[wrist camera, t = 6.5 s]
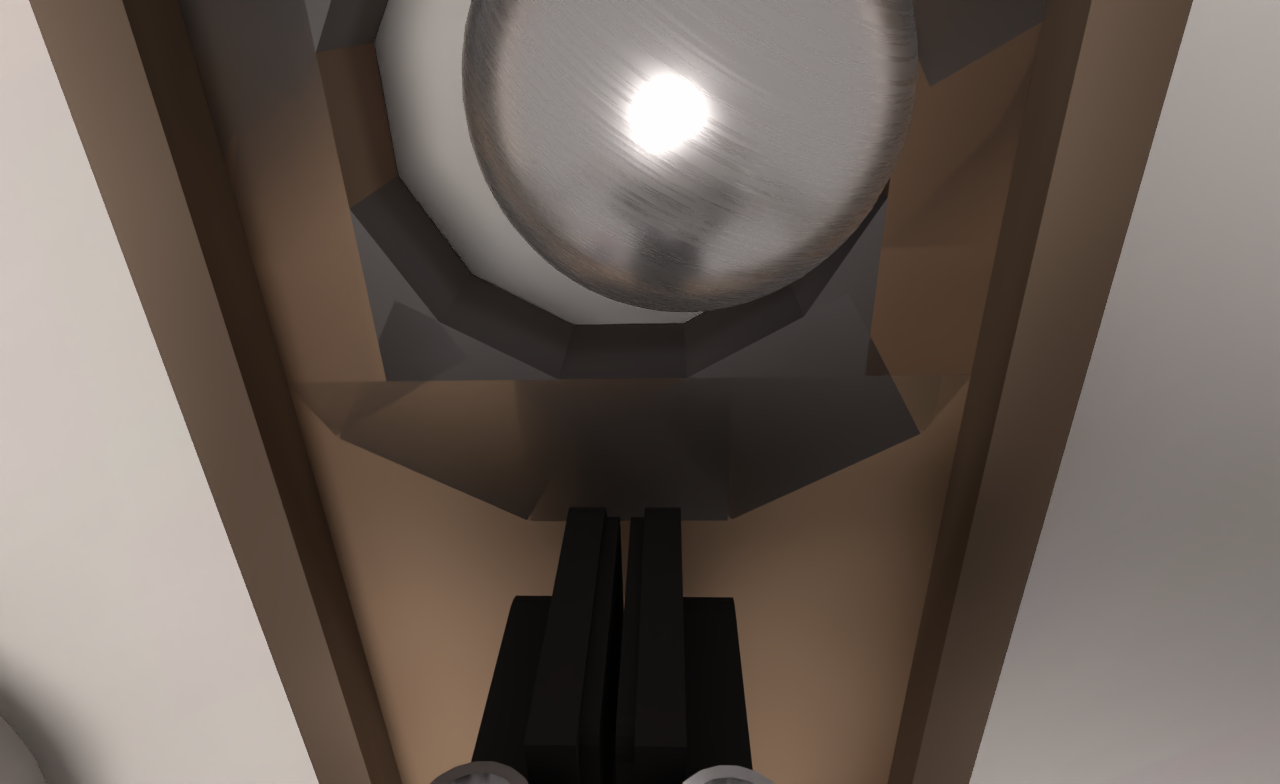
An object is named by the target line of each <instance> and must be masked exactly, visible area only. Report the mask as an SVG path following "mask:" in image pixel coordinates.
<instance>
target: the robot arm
mask: <svg viewBox="0 0 1280 784" xmlns="http://www.w3.org/2000/svg"><path fill="white" fill-rule="evenodd" d="M430 784H775V783H774V782H773V781H771V780H770V779H768V778H766V777H765V776H763V775H762V774H760V773H759V772H757V771H754V770H753V767H752V758H751V749H750V740H749V730H748V721H747V712H746V703H745V694H744V685H743V675H742V666H741V657H740V648H739V639H738V629H737V620H736V611H735V604H734V599H733V597H683V577H682V537H681V507H645V517H631V520H630V533H629V548H628V562H627V576H626V590H625V604H624V599H623V574H622V550H621V526H620V517H607V511H606V507H570V508H569V511H568V515H567V520H566V526H565V531H564V536H563V541H562V546H561V552H560V557H559V562H558V567H557V573H556V578H555V583H554V588H553V593H552V596H517V595H516V596H515V598H514V599H513V601H512V604H511V607H510V611H509V615H508V619H507V623H506V627H505V631H504V635H503V639H502V642H501V646H500V650H499V654H498V658H497V662H496V666H495V670H494V674H493V678H492V682H491V685H490V689H489V693H488V697H487V701H486V705H485V709H484V713H483V717H482V721H481V725H480V729H479V732H478V736H477V740H476V744H475V748H474V752H473V756H472V760H471V762H470V763H467V764H463V765H459V766H456V767H454V768H452V769H450V770H448V771H447V772H445V773H443V774H441V775H440V776H438V777H436V778H435V779H434V780H433V781H432V782H431V783H430Z"/></svg>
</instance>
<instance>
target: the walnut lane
mask: <svg viewBox="0 0 1280 784" xmlns="http://www.w3.org/2000/svg"><path fill="white" fill-rule="evenodd" d="M29 1H30V4H31V7H32V10H33V12H34V15H35V18H36V20H37V23H38V26H39V28H40V31H41V34H42V37H43V39H44V42H45V45H46V47H47V50H48V53H49V55H50V58H51V61H52V64H53V66H54V69H55V72H56V74H57V77H58V80H59V82H60V85H61V88H62V91H63V93H64V96H65V99H66V101H67V104H68V107H69V109H70V112H71V115H72V117H73V120H74V123H75V126H76V128H77V131H78V134H79V136H80V139H81V142H82V144H83V147H84V150H85V153H86V155H87V158H88V161H89V163H90V166H91V169H92V171H93V174H94V177H95V180H96V182H97V185H98V188H99V190H100V193H101V196H102V198H103V201H104V204H105V207H106V209H107V212H108V215H109V217H110V220H111V223H112V225H113V228H114V231H115V234H116V236H117V239H118V242H119V244H120V247H121V250H122V252H123V255H124V258H125V261H126V263H127V266H128V269H129V271H130V274H131V277H132V279H133V282H134V285H135V288H136V290H137V293H138V296H139V298H140V301H141V304H142V306H143V309H144V312H145V315H146V317H147V320H148V323H149V325H150V328H151V331H152V333H153V336H154V339H155V342H156V344H157V347H158V350H159V352H160V355H161V358H162V360H163V363H164V366H165V369H166V371H167V374H168V377H169V379H170V382H171V385H172V387H173V390H174V393H175V395H176V398H177V401H178V404H179V406H180V409H181V412H182V414H183V417H184V420H185V422H186V425H187V428H188V431H189V433H190V436H191V439H192V441H193V444H194V447H195V449H196V452H197V455H198V458H199V460H200V463H201V466H202V468H203V471H204V474H205V476H206V479H207V482H208V485H209V487H210V490H211V493H212V495H213V498H214V501H215V503H216V506H217V509H218V512H219V514H220V517H221V520H222V522H223V525H224V528H225V530H226V533H227V536H228V539H229V541H230V544H231V547H232V549H233V552H234V555H235V557H236V560H237V563H238V566H239V568H240V571H241V574H242V576H243V579H244V582H245V584H246V587H247V590H248V593H249V595H250V598H251V601H252V603H253V606H254V609H255V611H256V614H257V617H258V620H259V622H260V625H261V628H262V630H263V633H264V636H265V638H266V641H267V644H268V646H269V649H270V652H271V655H272V657H273V660H274V663H275V665H276V668H277V671H278V673H279V676H280V679H281V682H282V684H283V687H284V690H285V692H286V695H287V698H288V700H289V703H290V706H291V709H292V711H293V714H294V717H295V719H296V722H297V725H298V727H299V730H300V733H301V736H302V738H303V741H304V744H305V746H306V749H307V752H308V754H309V757H310V760H311V763H312V765H313V768H314V771H315V773H316V776H317V779H318V781H319V784H430V783H431V782H432V781H433V780H434V779H435V778H436V777H438V776H440V775H441V774H443V773H445V772H447V771H448V770H450V769H452V768H454V767H456V766H459V765H463V764H467V763H470V762H471V760H472V756H473V752H474V748H475V744H476V740H477V736H478V732H479V729H480V725H481V721H482V717H483V713H484V709H485V705H486V701H487V697H488V693H489V689H490V685H491V682H492V678H493V674H494V670H495V666H496V662H497V658H498V654H499V650H500V646H501V642H502V639H503V635H504V631H505V627H506V623H507V619H508V615H509V611H510V607H511V604H512V601H513V599H514V598H515V596H516V595H517V596H552V593H553V588H554V583H555V578H556V573H557V567H558V562H559V557H560V552H561V546H562V541H563V536H564V531H565V526H566V520H567V515H568V511H569V508H570V507H606V511H607V517H620V526H621V550H622V574H623V599H624V604H625V590H626V576H627V562H628V548H629V533H630V520H631V517H645V507H681V537H682V577H683V597H733V599H734V604H735V611H736V620H737V629H738V639H739V648H740V657H741V666H742V675H743V685H744V694H745V703H746V712H747V721H748V730H749V740H750V749H751V758H752V767H753V770H754V771H757V772H759V773H760V774H762V775H763V776H765V777H766V778H768V779H770V780H771V781H773V782H774V783H775V784H969V781H970V778H971V774H972V771H973V767H974V764H975V760H976V757H977V753H978V750H979V746H980V743H981V740H982V736H983V733H984V729H985V726H986V722H987V719H988V715H989V712H990V708H991V705H992V701H993V698H994V694H995V691H996V687H997V684H998V680H999V677H1000V673H1001V670H1002V666H1003V663H1004V659H1005V656H1006V652H1007V649H1008V645H1009V642H1010V638H1011V635H1012V631H1013V628H1014V624H1015V621H1016V617H1017V614H1018V610H1019V607H1020V603H1021V600H1022V596H1023V593H1024V589H1025V586H1026V582H1027V579H1028V575H1029V572H1030V568H1031V565H1032V561H1033V558H1034V554H1035V551H1036V547H1037V544H1038V540H1039V537H1040V533H1041V530H1042V526H1043V523H1044V519H1045V516H1046V512H1047V509H1048V505H1049V502H1050V498H1051V495H1052V491H1053V488H1054V484H1055V481H1056V477H1057V474H1058V470H1059V467H1060V463H1061V460H1062V456H1063V453H1064V449H1065V446H1066V442H1067V439H1068V435H1069V432H1070V428H1071V425H1072V421H1073V418H1074V414H1075V411H1076V407H1077V404H1078V400H1079V397H1080V393H1081V390H1082V386H1083V383H1084V379H1085V376H1086V372H1087V369H1088V366H1089V362H1090V359H1091V355H1092V352H1093V348H1094V345H1095V341H1096V338H1097V334H1098V331H1099V327H1100V324H1101V320H1102V317H1103V313H1104V310H1105V306H1106V303H1107V299H1108V296H1109V292H1110V289H1111V285H1112V282H1113V278H1114V275H1115V271H1116V268H1117V264H1118V261H1119V257H1120V254H1121V250H1122V247H1123V243H1124V240H1125V236H1126V233H1127V229H1128V226H1129V222H1130V219H1131V215H1132V212H1133V208H1134V205H1135V201H1136V198H1137V194H1138V191H1139V187H1140V184H1141V180H1142V177H1143V173H1144V170H1145V166H1146V163H1147V159H1148V156H1149V152H1150V149H1151V145H1152V142H1153V138H1154V135H1155V131H1156V128H1157V124H1158V121H1159V117H1160V114H1161V110H1162V107H1163V103H1164V100H1165V96H1166V93H1167V89H1168V86H1169V82H1170V79H1171V75H1172V72H1173V68H1174V65H1175V61H1176V58H1177V54H1178V51H1179V47H1180V44H1181V40H1182V37H1183V33H1184V30H1185V26H1186V23H1187V19H1188V16H1189V12H1190V9H1191V5H1192V2H1193V0H911V1H912V5H913V10H914V18H915V25H916V33H917V40H918V75H917V83H916V90H915V98H914V105H913V112H912V117H911V121H910V125H909V128H908V132H907V136H906V139H905V143H904V146H903V149H902V151H901V154H900V156H899V158H898V161H897V163H896V166H895V168H894V170H893V173H892V175H891V177H890V178H889V180H888V182H887V184H886V185H885V187H884V189H883V191H882V192H881V194H880V196H879V197H878V199H877V201H876V203H875V204H874V206H873V208H872V210H871V211H870V212H869V213H868V215H867V216H866V217H865V219H864V220H863V221H862V223H861V224H860V225H859V226H858V228H857V229H856V230H855V232H854V233H853V234H852V235H851V236H850V237H849V238H848V239H847V240H846V241H845V242H844V243H843V244H842V245H841V246H840V247H839V248H838V249H837V250H836V251H835V252H834V253H833V254H831V255H830V256H829V257H828V258H827V259H826V260H824V261H823V262H822V263H820V264H819V265H818V266H816V267H815V268H814V269H813V270H811V271H810V272H809V273H807V274H806V275H805V276H803V277H801V278H800V279H798V280H796V281H794V282H792V283H790V284H789V285H787V286H785V287H783V288H781V289H779V290H777V291H775V292H773V293H771V294H769V295H766V296H764V297H761V298H758V299H755V300H753V301H750V302H747V303H744V304H740V305H736V306H732V307H726V308H721V309H716V310H710V311H707V312H705V313H703V314H701V315H699V316H697V317H696V318H694V319H692V320H690V321H688V322H687V323H685V324H639V325H572V324H570V323H568V322H566V321H564V320H562V319H560V318H558V317H556V316H554V315H552V314H550V313H548V312H546V311H544V310H542V309H540V308H538V307H536V306H534V305H532V304H530V303H528V302H526V301H524V300H522V299H520V298H518V297H516V296H514V295H512V294H510V293H508V292H506V291H504V290H502V289H500V288H498V287H496V286H494V285H492V284H490V283H488V282H486V281H484V280H482V279H480V278H478V277H476V276H474V275H472V274H471V273H470V271H469V270H468V269H467V267H466V266H465V265H464V263H463V262H462V261H461V259H460V258H459V257H458V255H457V254H456V253H455V251H454V250H453V249H452V247H451V246H450V245H449V243H448V242H447V241H446V239H445V238H444V237H443V235H442V234H441V233H440V231H439V230H438V229H437V227H436V226H435V225H434V223H433V222H432V221H431V219H430V218H429V217H428V215H427V214H426V213H425V211H424V210H423V209H422V207H421V206H420V205H419V203H418V202H417V201H416V199H415V198H414V197H413V195H412V194H411V193H410V191H409V190H408V189H407V187H406V186H405V185H404V183H403V182H402V181H401V179H400V178H399V177H398V174H397V169H396V163H395V158H394V152H393V147H392V141H391V136H390V130H389V124H388V119H387V113H386V108H385V102H384V97H383V91H382V86H381V80H380V75H379V69H378V63H377V58H376V52H375V47H374V40H375V37H376V34H377V31H378V28H379V25H380V22H381V19H382V16H383V13H384V10H385V7H386V4H387V1H388V0H29Z"/></svg>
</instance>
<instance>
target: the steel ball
mask: <svg viewBox="0 0 1280 784" xmlns="http://www.w3.org/2000/svg"><path fill="white" fill-rule="evenodd" d="M917 75H918V40H917V33H916V25H915V18H914V10H913V5H912V1H911V0H472V1H471V5H470V9H469V13H468V17H467V20H466V24H465V32H464V42H463V51H462V89H463V103H464V109H465V114H466V120H467V125H468V130H469V135H470V139H471V143H472V146H473V149H474V152H475V155H476V158H477V161H478V163H479V166H480V169H481V171H482V174H483V176H484V179H485V181H486V183H487V184H488V186H489V188H490V190H491V192H492V194H493V195H494V197H495V199H496V201H497V202H498V204H499V206H500V208H501V210H502V211H503V213H504V214H505V216H506V217H507V218H508V220H509V221H510V223H511V224H512V225H513V227H514V228H515V229H516V230H517V231H518V232H519V233H520V235H521V236H522V237H523V238H524V239H525V240H526V241H527V242H528V244H529V245H530V246H531V247H532V248H533V249H534V250H535V251H536V252H537V253H538V254H539V255H540V256H541V257H542V258H543V259H544V260H546V261H547V262H548V263H549V264H551V265H552V266H553V267H554V268H556V269H557V270H558V271H560V272H561V273H563V274H564V275H566V276H567V277H568V278H570V279H571V280H573V281H575V282H576V283H578V284H580V285H582V286H584V287H585V288H587V289H589V290H591V291H593V292H596V293H598V294H600V295H602V296H605V297H607V298H610V299H613V300H615V301H618V302H622V303H626V304H629V305H633V306H637V307H642V308H646V309H652V310H659V311H671V312H698V311H710V310H716V309H721V308H726V307H732V306H736V305H740V304H744V303H747V302H750V301H753V300H755V299H758V298H761V297H764V296H766V295H769V294H771V293H773V292H775V291H777V290H779V289H781V288H783V287H785V286H787V285H789V284H790V283H792V282H794V281H796V280H798V279H800V278H801V277H803V276H805V275H806V274H807V273H809V272H810V271H811V270H813V269H814V268H815V267H816V266H818V265H819V264H820V263H822V262H823V261H824V260H826V259H827V258H828V257H829V256H830V255H831V254H833V253H834V252H835V251H836V250H837V249H838V248H839V247H840V246H841V245H842V244H843V243H844V242H845V241H846V240H847V239H848V238H849V237H850V236H851V235H852V234H853V233H854V232H855V230H856V229H857V228H858V226H859V225H860V224H861V223H862V221H863V220H864V219H865V217H866V216H867V215H868V213H869V212H870V211H871V210H872V208H873V206H874V204H875V203H876V201H877V199H878V197H879V196H880V194H881V192H882V191H883V189H884V187H885V185H886V184H887V182H888V180H889V178H890V177H891V175H892V173H893V170H894V168H895V166H896V163H897V161H898V158H899V156H900V154H901V151H902V149H903V146H904V143H905V139H906V136H907V132H908V128H909V125H910V121H911V117H912V112H913V105H914V98H915V90H916V83H917Z"/></svg>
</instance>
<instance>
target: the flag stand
mask: <svg viewBox="0 0 1280 784" xmlns="http://www.w3.org/2000/svg"><path fill="white" fill-rule="evenodd" d="M0 784H46V781H45V779H44V777H43V775H42V773H41V771H40V768H39V766H38V764H37V762H36V760H35V758H34V756H33V754H32V753H31V752H30V750H29V749H28V748H27V746H26V745H25V744H24V742H23V741H22V740H21V738H20V737H19V736H18V734H17V733H16V732H15V731H14V729H13V728H12V727H11V726H10V725H9V724H8V723H7V722H6V721H5V720H4V719H3V718H2V717H1V716H0Z"/></svg>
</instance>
